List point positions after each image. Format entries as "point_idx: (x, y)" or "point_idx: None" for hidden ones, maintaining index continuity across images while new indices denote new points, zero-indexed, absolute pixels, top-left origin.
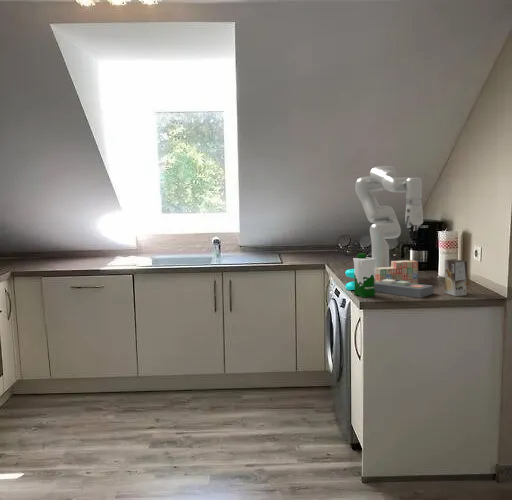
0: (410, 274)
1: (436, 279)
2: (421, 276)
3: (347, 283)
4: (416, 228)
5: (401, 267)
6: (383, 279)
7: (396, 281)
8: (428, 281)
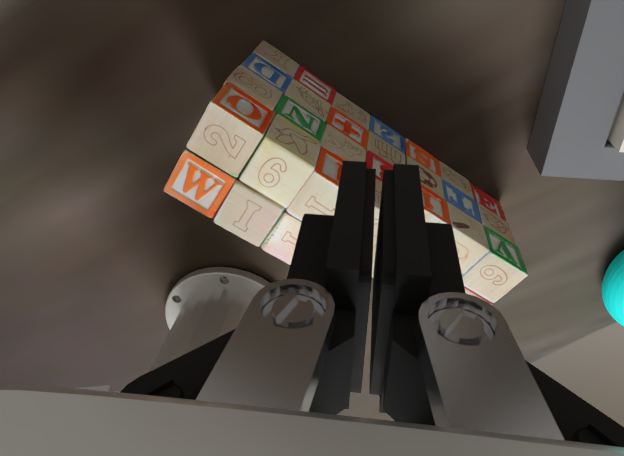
0: (302, 101)
1: (5, 19)
2: (4, 162)
3: None
4: (324, 341)
5: None
6: (490, 214)
7: (577, 80)
8: (116, 27)
